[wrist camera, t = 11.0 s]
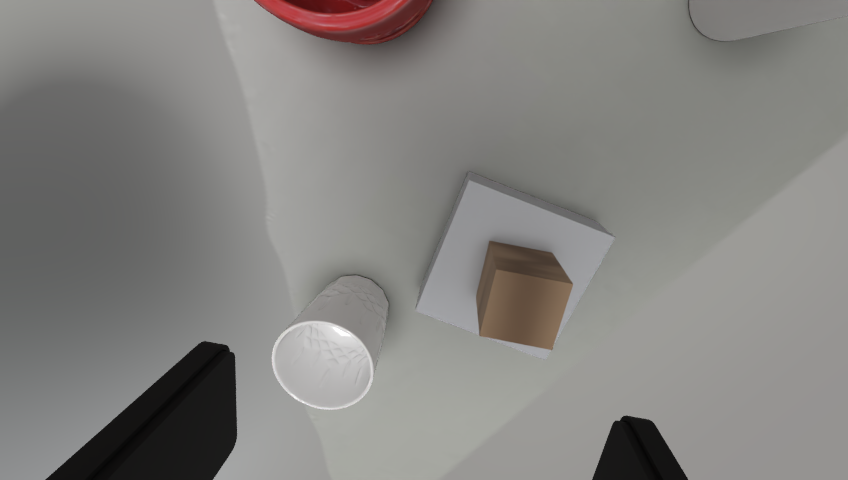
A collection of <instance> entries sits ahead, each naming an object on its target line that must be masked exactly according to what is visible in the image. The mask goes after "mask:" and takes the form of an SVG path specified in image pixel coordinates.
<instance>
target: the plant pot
mask: <svg viewBox="0 0 848 480" xmlns="http://www.w3.org/2000/svg"><path fill="white" fill-rule="evenodd" d="M254 1H255V2H257V3H258V4H259V5H260V6H261V7H263V8H264V9H266V10H267V11H268V12H270V13H271V14H273V15H274V16H276V17H278V18H279V19H281V20H282V21H284V22H286V23H288V24H290V25H292V26H294V27H296V28H298V29H300V30H302V31H304V32H307V33H309V34H312V35H314V36H317V37H321V38H325V39H329V40H334V41H341V42H351V43H355V44H378V43H382V42H386V41H389V40H392V39H394V38H396V37H398V36H400V35H401V34H403V33H405V32H406V31H408V30H409V29H410V28H412V27H413V26H414V25H415V24H416V23H417V22H418V21H419V20H420V19H421V18H422V16H423V15H424V14H425V12H426V11H427V9H428V8H429V6H430V4H431V3H432V1H433V0H254Z"/></svg>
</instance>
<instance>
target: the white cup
mask: <svg viewBox="0 0 848 480" xmlns="http://www.w3.org/2000/svg"><path fill="white" fill-rule="evenodd" d="M388 307H389V303H388V301H387V299H386V296H385V294H384V292H383V290H382V289H381V288H380V287H379V286H378V285H376V284H375V283H374V282H373V281H372V280H370V279H367V278H364V277H361V276H358V275H352V276H342V277H340V278H338V279H337V280H335V281H333V282H332V283H330V284H329V285H328V286H327V287H326V288H325V289H324V290H323V291H322V292H321V293H320V294H319V295H318V296H317V297H316V298H315V299H314V300H313V301H312V302H311V303H310V304H309V305H308V306H307V307H306V308H305V309H304V310H303V311H302V312H301V313H300V314H299V315H298V317H297V318H296V319H295V320H294V321H293V322H292V323H291V324H290V325H289V326H288V328H287V329H286V330H285V331H284V332H283V333H282V334H281V335H280V336H279V338H278V339H277V341H276V343H275V345H274V347H273V351H272V366H273V370H274V373H275V375H276V378H277V380H278V381H279V383H280V384H281V385H282V387H283V388H284V389H285V391H286V392H287V393H289V394H290V395H291V396H292V397H293V398H295V399H296V400H298V401H300V402H301V403H303V404H306V405H308V406H311V407H314V408H318V409H325V410H335V409H341V408H345V407H348V406H351V405H353V404H355V403H356V402H358V401H359V400H361V399H362V398H363V397H364V396H365V395H366V393H367V392H368V390H369V389H370V387H371V384H372V381H373V377H374V373H375V370H376V366H377V362H378V358H379V354H380V351H381V347H382V342H383V338H384V334H385V329H386V322H387V319H388Z"/></svg>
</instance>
